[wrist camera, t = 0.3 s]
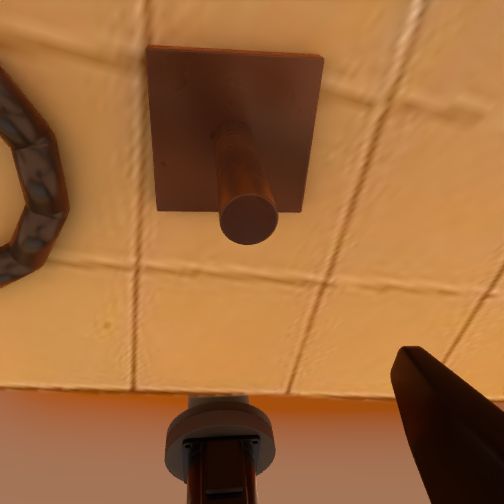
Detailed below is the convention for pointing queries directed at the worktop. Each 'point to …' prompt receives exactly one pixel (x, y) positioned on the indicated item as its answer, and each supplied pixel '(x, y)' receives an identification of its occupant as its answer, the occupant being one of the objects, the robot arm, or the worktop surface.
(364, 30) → the worktop surface
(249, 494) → the robot arm
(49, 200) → the ring
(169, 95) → the post
